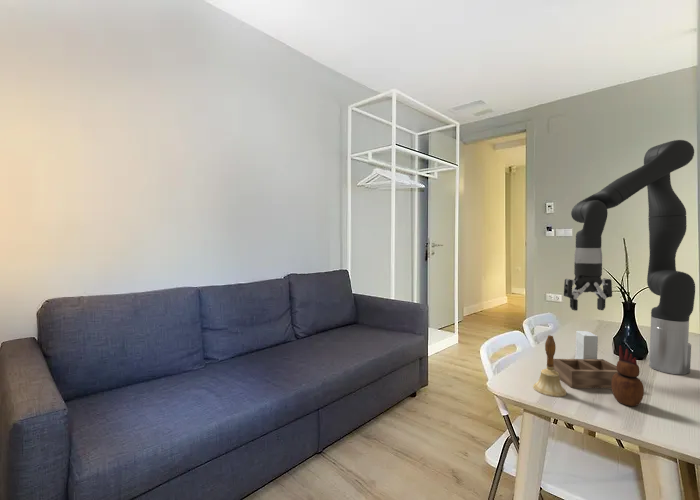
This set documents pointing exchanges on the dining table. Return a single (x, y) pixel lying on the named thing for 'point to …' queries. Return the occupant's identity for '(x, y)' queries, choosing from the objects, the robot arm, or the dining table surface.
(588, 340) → the skincare box
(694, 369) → the dining table surface
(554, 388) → the hand bell
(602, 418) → the dining table surface
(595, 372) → the walnut rail
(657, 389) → the dining table surface
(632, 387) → the wooden figurine
